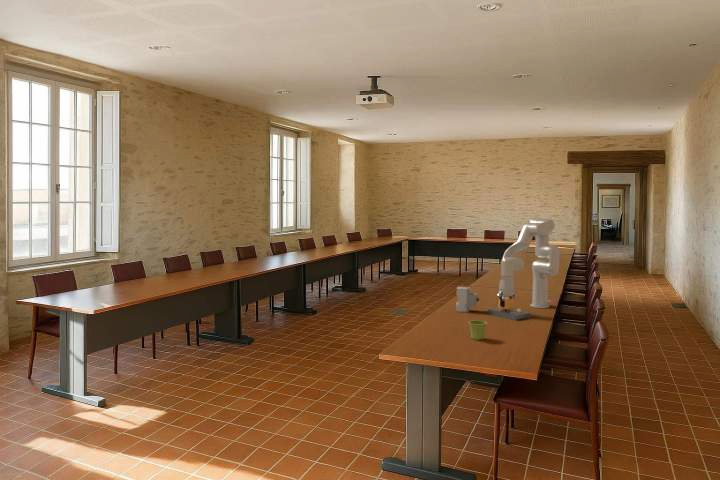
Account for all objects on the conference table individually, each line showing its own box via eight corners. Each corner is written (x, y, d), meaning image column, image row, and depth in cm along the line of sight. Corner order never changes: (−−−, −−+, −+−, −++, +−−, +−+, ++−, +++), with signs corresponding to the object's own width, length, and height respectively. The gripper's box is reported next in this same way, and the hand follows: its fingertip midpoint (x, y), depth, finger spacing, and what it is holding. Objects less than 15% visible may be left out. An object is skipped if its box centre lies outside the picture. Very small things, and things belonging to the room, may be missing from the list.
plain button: (518, 313, 339) (518, 308, 339) (521, 314, 337) (521, 309, 337) (515, 314, 338) (516, 308, 338) (519, 315, 336) (519, 309, 336)
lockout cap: (505, 305, 351) (505, 297, 350) (514, 307, 345) (514, 299, 344) (498, 307, 347) (498, 298, 346) (506, 309, 341) (507, 300, 340)
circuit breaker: (478, 312, 350) (479, 289, 348) (456, 311, 352) (456, 288, 351) (478, 310, 357) (479, 287, 356) (456, 309, 360) (456, 286, 358)
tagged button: (505, 313, 348) (506, 307, 347) (508, 313, 346) (509, 308, 345) (503, 313, 346) (503, 308, 346) (506, 314, 344) (506, 308, 344)
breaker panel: (502, 311, 355) (503, 306, 354) (530, 317, 336) (530, 312, 336) (487, 313, 347) (487, 308, 346) (515, 320, 329) (515, 315, 328)
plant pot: (466, 339, 284) (466, 323, 283) (470, 335, 293) (470, 319, 292) (484, 341, 280) (485, 325, 280) (488, 337, 289) (488, 321, 288)
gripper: (511, 276, 352) (510, 303, 354) (493, 278, 342) (492, 306, 344) (521, 277, 346) (520, 305, 347) (502, 280, 336) (501, 308, 338)
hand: (506, 305), depth 346 cm, fingers closed on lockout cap, 6 cm apart
